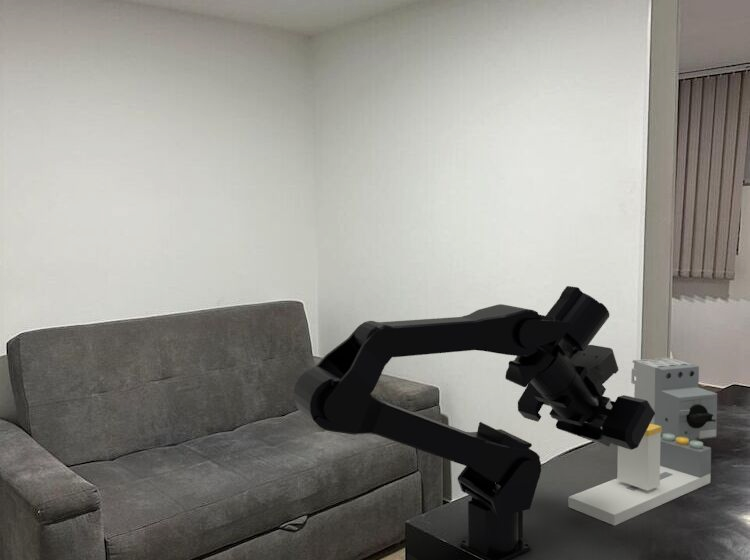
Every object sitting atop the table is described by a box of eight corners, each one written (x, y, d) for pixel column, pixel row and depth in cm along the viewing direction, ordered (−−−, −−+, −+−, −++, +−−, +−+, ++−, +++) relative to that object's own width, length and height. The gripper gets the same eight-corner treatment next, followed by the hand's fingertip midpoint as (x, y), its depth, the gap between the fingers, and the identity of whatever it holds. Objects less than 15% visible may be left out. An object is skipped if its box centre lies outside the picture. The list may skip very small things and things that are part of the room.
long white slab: (614, 525, 93) (615, 479, 92) (568, 507, 99) (568, 464, 98) (710, 482, 106) (711, 442, 106) (664, 468, 113) (665, 430, 112)
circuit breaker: (684, 467, 113) (686, 377, 112) (630, 440, 127) (631, 360, 125) (723, 462, 115) (725, 373, 114) (665, 436, 129) (667, 357, 127)
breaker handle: (647, 491, 99) (648, 430, 98) (616, 480, 103) (616, 422, 102) (660, 485, 101) (661, 426, 100) (629, 475, 105) (629, 418, 104)
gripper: (646, 337, 84) (695, 410, 92) (530, 321, 100) (580, 384, 107) (605, 412, 81) (659, 482, 88) (491, 383, 96) (545, 444, 103)
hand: (608, 443), depth 97 cm, fingers closed
